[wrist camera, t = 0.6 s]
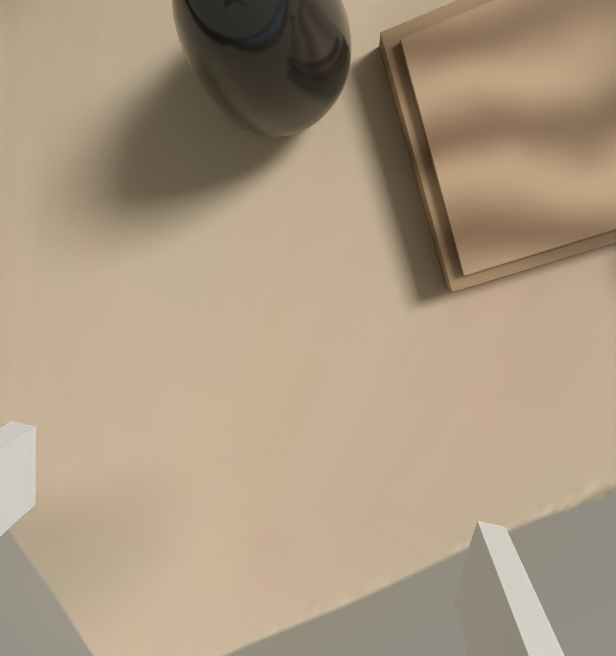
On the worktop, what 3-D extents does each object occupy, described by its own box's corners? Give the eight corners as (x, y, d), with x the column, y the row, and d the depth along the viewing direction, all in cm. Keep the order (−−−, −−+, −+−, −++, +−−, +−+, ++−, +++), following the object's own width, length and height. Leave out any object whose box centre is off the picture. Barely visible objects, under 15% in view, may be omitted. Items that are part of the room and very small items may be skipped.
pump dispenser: (347, -23, 31) (334, -234, 17) (357, 137, 34) (353, 75, 19) (205, 0, 33) (78, -177, 18) (224, 153, 35) (125, 106, 20)
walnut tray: (379, 45, 32) (380, 28, 29) (654, -68, 29) (686, -100, 26) (446, 287, 36) (453, 293, 33) (699, 209, 32) (733, 209, 29)
